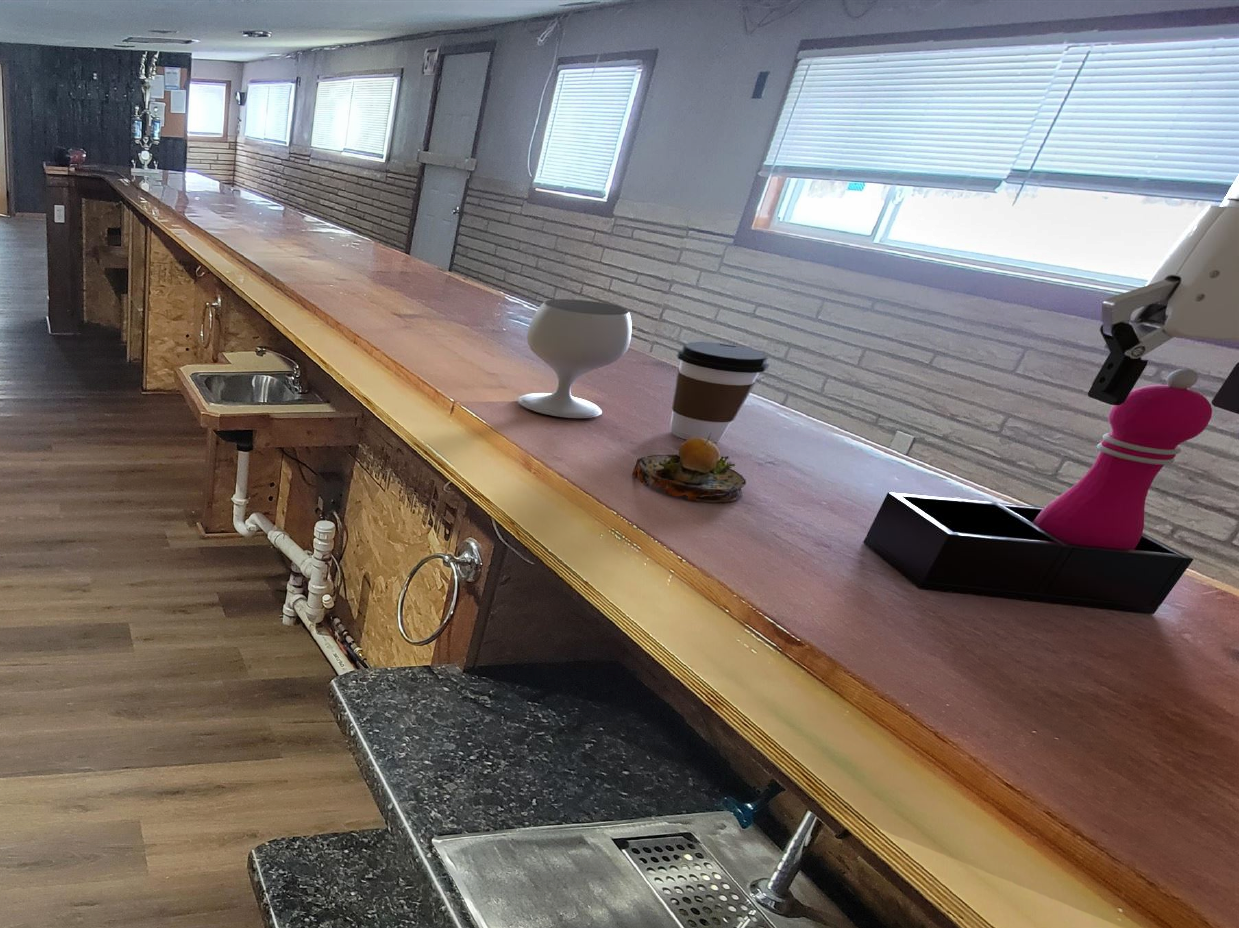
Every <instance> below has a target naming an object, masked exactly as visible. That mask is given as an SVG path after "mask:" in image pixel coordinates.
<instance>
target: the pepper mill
mask: <svg viewBox="0 0 1239 928" xmlns="http://www.w3.org/2000/svg"><path fill="white" fill-rule="evenodd" d="M1198 379H1199V375H1198V373H1197V372H1196V371H1195V370H1194V369H1191V368H1179V369H1176V370H1173V371H1172V372H1171V373H1169V374H1168V375H1167V377H1166V381H1165V382H1166V384H1153V385H1144V386H1141V387H1137V388H1135V389H1134V388H1133V389H1132V390H1131V392H1130V394H1129V395H1128V397H1127V399H1126V400H1125V402H1124V403H1123V404H1121V405H1112V407H1111V409H1110V411H1109V413H1108V417H1107V418H1108V423H1109V426H1110V427H1111V432H1107V433H1104V434H1103V435H1102V439H1101V442H1099V443H1098V444H1097V445H1096V448H1097V450H1098V451H1099V453H1098V455H1097V457H1096V459H1095V461H1094V462H1093V464H1092V465H1091V466H1090V468H1089V470H1088V471H1087V472H1086V473H1085V474H1084V475H1083V476H1082V477H1081V478H1080V479H1079V480H1078V481H1077V482H1076V483H1075V484H1074V485H1072V486H1071V487H1070V488H1069V489H1067V490H1066V491H1064V492H1063V493H1061V494H1060V495H1059V496H1057V497H1056V498H1054V499H1053V500H1052V501H1050V502H1049V503H1048V504H1047V505H1046V506H1045V508H1044V509H1043V510H1042V511H1041V512H1040V513H1039V515H1038V516H1037V517H1036V519H1035V520H1034V521H1033V523H1034V524H1035V525H1037V526H1039V527H1040V528H1042V529H1044V530H1046V531H1047V532H1049V533H1051V534H1052V535H1054V536H1056V537H1058V538H1059V539H1061V540H1063V541H1064V542H1066V543H1068V544H1078V545H1088V546H1098V547H1108V548H1118V549H1128V550H1134V549H1135V548H1136V546H1137V544H1138V542H1139V541H1140V539H1141V536H1142V533H1144V532H1143V531H1144V528H1145V508H1146V507H1145V506H1146V499H1147V496H1148V493H1149V489H1150V488H1151V485H1152V484H1153V482H1154V480H1155V478H1156V476H1157V475H1158V473H1159V472H1161V470H1162V469H1163V467H1165V466H1166V465H1170V464H1173V463H1174V462H1175V458H1176V456H1177V455H1178V454H1180V453H1181V452H1182V449H1181V448H1180V446H1179V445H1180V444H1182V443H1184V442H1186V441H1189V440H1192V439H1194V438H1196V437H1198V436H1199V435H1200V434H1201V433H1203V432H1204V431H1205V429H1206V428H1207V427H1208V425H1209V423H1210V420H1211V418H1212V415H1213V407H1212V403H1210V402H1209V400H1208V398H1207V397H1205V396H1204V395H1202V394H1201V393H1200V392H1197V391H1195V390H1193V389H1190V388H1191V387H1193V386H1194V385H1195V384H1197V382H1198Z"/></svg>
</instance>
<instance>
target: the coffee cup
mask: <svg viewBox="0 0 1239 928" xmlns="http://www.w3.org/2000/svg"><path fill="white" fill-rule="evenodd" d="M676 358H677V359H678V360H680V363H679V368H678V369H677V372H676V373H677V374H676V379H675V384H674V392H673V398H672V404H671V411H672V412H671V417H670V418H671V419H670V429H671V433H672V434H673V436H675V437H677V438H681V439H683V440H685V441H687V440H689V439H691V438H703V439H708V437H709V435H710V434H711V435H710V437H709V441H711V442H713V443H717V442H718V441H719V440H721V439H722V438H723V437H724V436H725V435H726V432H727V430H728V429H729V427H730V426H731V423H732V422H733V421H734V420H736V417H737V416H738V414H739V412H740V411H741V409H742V407H743V406H744V404H745V402H746V400H747V399H748V396H749V395H750V393H751V392H752V390H753V388H754V387H755V385H756V380H757V379H758V377H759V375H760V373H763V372H766V371H768V369H769V366H770V364H769V363H768V362H767V361H768V359H769V358H768V356H767V355H766V354H765V353H764V352H761V351H760V350H757V349H754V348H749V347H745V346H741V345H735V344H729V343H722V342H713V341H711V342H710V341H694V342H693V341H692V342H688V343H685V344H684V345H683V346H682V348H681V349H680V350H678V351H677V352H676ZM711 432H712V433H711Z"/></svg>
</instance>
